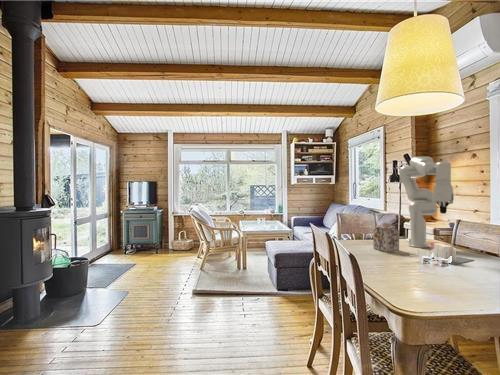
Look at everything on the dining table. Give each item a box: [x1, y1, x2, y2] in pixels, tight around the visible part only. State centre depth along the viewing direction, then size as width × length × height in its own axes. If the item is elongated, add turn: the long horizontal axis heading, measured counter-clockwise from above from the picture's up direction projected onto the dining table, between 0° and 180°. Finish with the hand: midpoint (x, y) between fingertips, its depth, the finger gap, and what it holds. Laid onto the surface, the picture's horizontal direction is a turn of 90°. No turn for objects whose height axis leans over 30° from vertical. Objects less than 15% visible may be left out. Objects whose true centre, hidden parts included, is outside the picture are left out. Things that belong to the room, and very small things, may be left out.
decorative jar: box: [372, 222, 400, 253], centre depth 196 cm, size 12×12×18 cm
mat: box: [449, 256, 475, 266], centre depth 167 cm, size 14×20×1 cm
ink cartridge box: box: [430, 242, 457, 262], centre depth 166 cm, size 9×5×15 cm
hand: (443, 213), depth 175 cm, fingers closed
